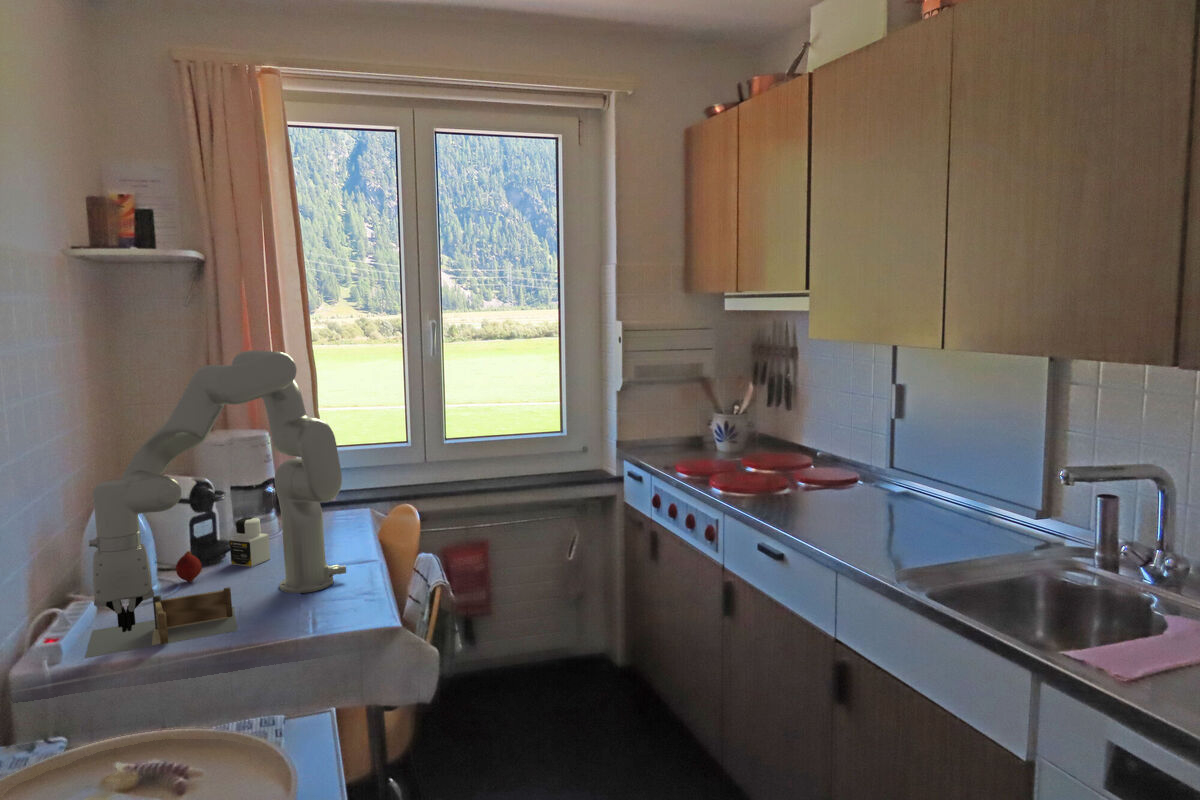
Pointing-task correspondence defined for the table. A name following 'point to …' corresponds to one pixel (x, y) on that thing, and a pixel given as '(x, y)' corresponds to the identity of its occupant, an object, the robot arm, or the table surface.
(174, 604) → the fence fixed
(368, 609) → the table surface
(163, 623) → the fence gate
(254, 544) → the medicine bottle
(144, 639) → the card
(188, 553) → the onion
